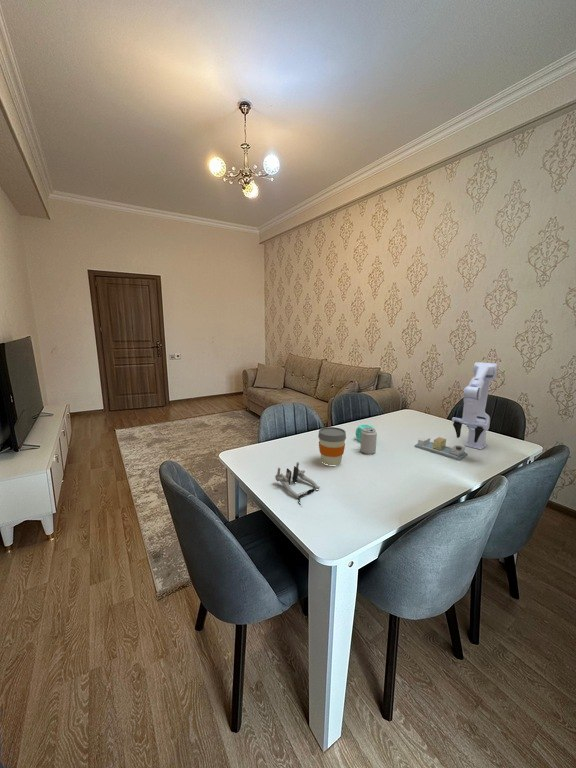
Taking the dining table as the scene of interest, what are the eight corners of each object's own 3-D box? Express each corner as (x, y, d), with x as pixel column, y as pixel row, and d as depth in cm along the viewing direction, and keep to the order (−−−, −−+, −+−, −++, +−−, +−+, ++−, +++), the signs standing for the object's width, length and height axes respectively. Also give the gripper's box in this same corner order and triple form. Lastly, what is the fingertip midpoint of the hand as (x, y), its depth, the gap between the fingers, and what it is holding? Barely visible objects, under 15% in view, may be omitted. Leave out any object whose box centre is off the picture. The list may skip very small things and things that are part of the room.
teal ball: (364, 444, 165) (364, 430, 164) (355, 439, 172) (355, 425, 171) (376, 442, 168) (376, 428, 167) (366, 437, 176) (367, 423, 174)
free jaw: (455, 450, 154) (456, 443, 154) (464, 453, 151) (465, 446, 151) (449, 454, 150) (450, 447, 149) (458, 457, 147) (459, 449, 146)
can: (376, 455, 151) (377, 432, 149) (360, 454, 152) (361, 431, 150) (375, 449, 158) (376, 427, 156) (360, 448, 160) (361, 426, 157)
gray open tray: (423, 442, 168) (424, 435, 167) (467, 455, 152) (468, 447, 151) (414, 446, 162) (415, 439, 161) (459, 460, 145) (460, 452, 145)
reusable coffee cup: (334, 471, 135) (336, 438, 132) (312, 462, 143) (312, 431, 140) (350, 461, 144) (351, 431, 141) (327, 454, 152) (328, 425, 149)
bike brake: (270, 481, 124) (301, 512, 109) (272, 466, 122) (303, 496, 107) (297, 473, 132) (329, 500, 117) (299, 458, 130) (332, 485, 114)
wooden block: (438, 446, 160) (439, 437, 159) (445, 448, 157) (446, 439, 156) (432, 449, 156) (433, 439, 155) (440, 451, 154) (441, 441, 153)
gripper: (450, 410, 147) (447, 437, 149) (484, 417, 136) (480, 446, 138) (456, 407, 151) (453, 434, 154) (490, 414, 140) (486, 442, 143)
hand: (466, 439), depth 146 cm, fingers open, 7 cm apart
